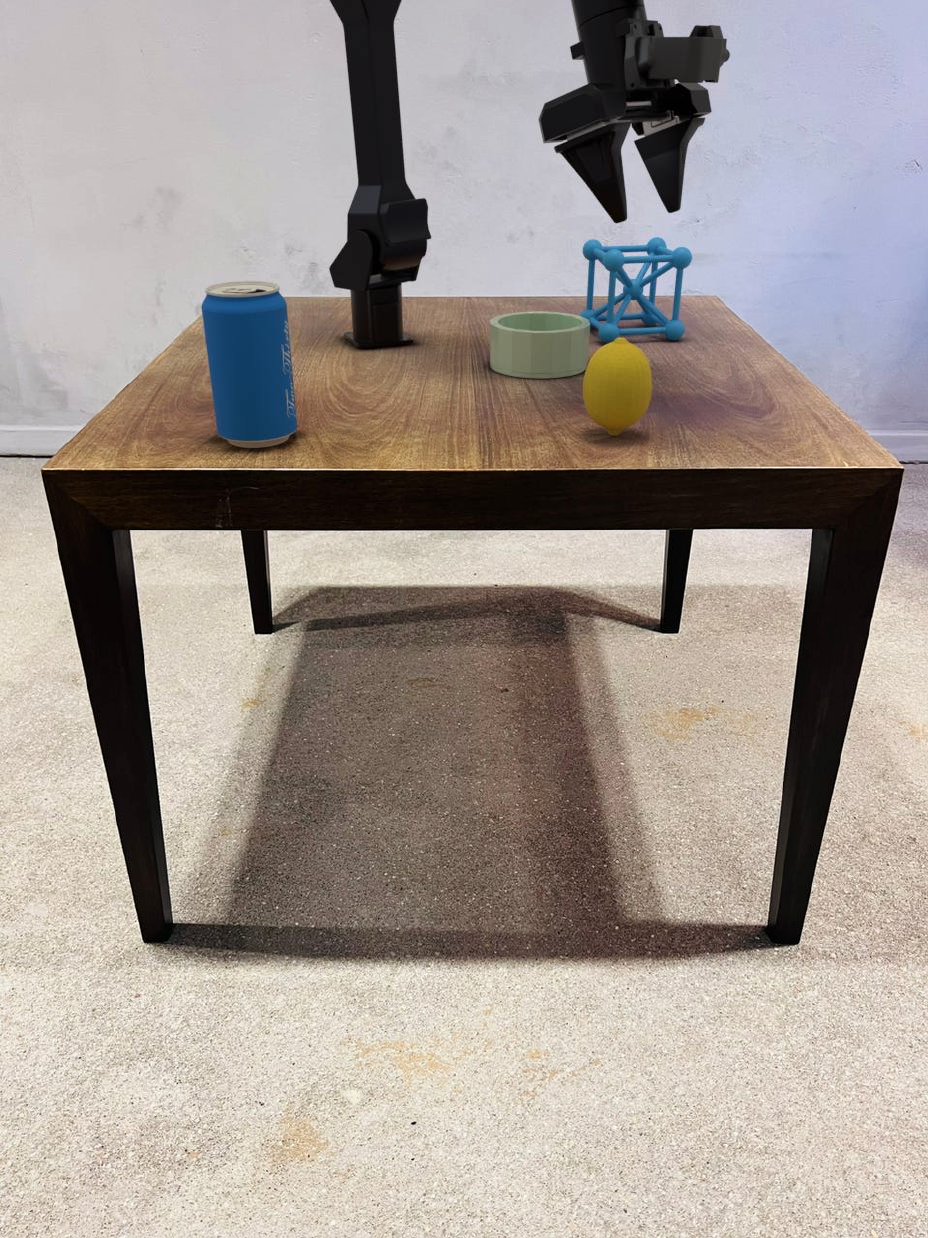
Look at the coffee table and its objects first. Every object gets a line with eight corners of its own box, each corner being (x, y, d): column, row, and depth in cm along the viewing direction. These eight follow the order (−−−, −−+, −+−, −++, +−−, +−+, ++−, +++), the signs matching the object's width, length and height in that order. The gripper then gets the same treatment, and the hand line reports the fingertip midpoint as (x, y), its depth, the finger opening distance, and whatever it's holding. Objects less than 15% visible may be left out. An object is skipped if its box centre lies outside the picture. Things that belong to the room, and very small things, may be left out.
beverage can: (281, 453, 78) (266, 296, 72) (205, 448, 79) (184, 293, 73) (309, 428, 83) (296, 281, 77) (237, 424, 84) (220, 278, 79)
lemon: (605, 450, 78) (612, 348, 74) (567, 431, 82) (572, 334, 78) (661, 439, 80) (671, 340, 76) (621, 421, 85) (628, 326, 81)
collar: (475, 359, 104) (475, 315, 102) (560, 350, 107) (561, 308, 105) (514, 382, 96) (515, 335, 94) (604, 372, 99) (607, 327, 97)
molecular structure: (686, 341, 110) (696, 247, 106) (601, 346, 109) (607, 250, 104) (655, 323, 119) (663, 235, 114) (576, 326, 117) (580, 237, 113)
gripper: (636, -32, 69) (678, 198, 74) (750, -16, 82) (781, 181, 86) (515, 31, 77) (560, 237, 81) (637, 38, 90) (670, 216, 94)
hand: (648, 216), depth 85 cm, fingers open, 9 cm apart
